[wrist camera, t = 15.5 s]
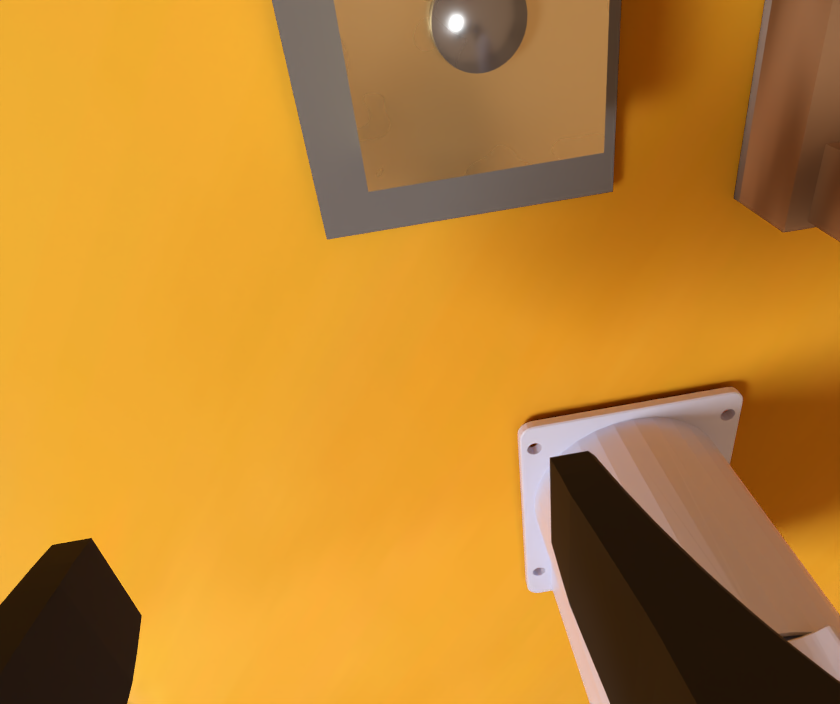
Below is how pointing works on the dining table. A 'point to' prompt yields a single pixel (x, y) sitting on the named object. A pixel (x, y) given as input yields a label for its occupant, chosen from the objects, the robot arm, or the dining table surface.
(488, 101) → the wooden block
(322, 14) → the mat
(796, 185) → the plane body
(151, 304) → the dining table surface
